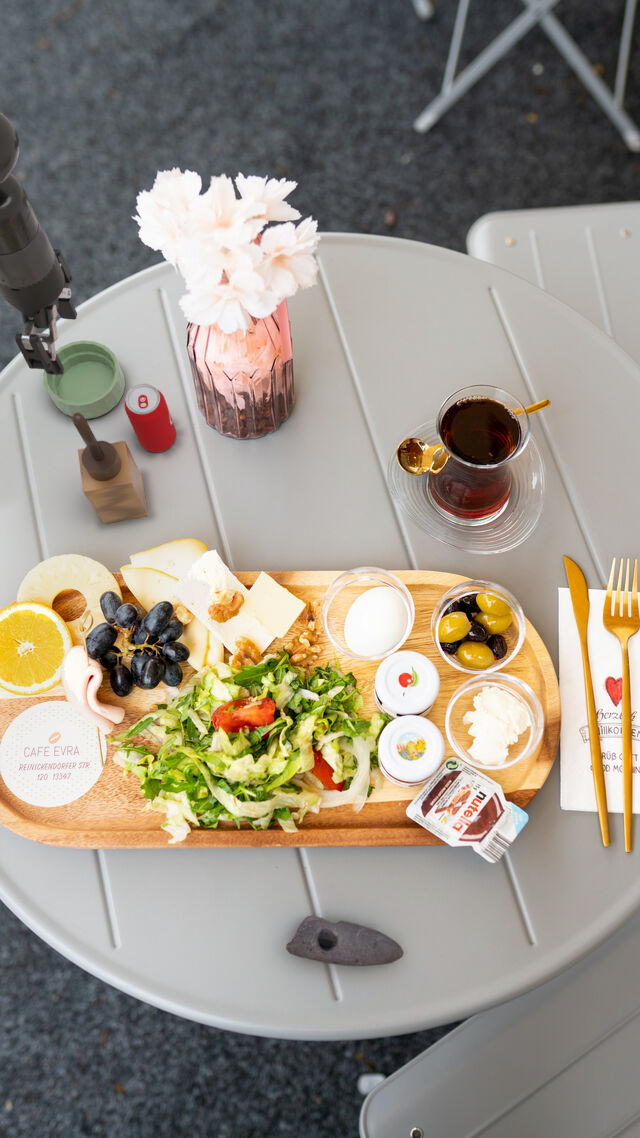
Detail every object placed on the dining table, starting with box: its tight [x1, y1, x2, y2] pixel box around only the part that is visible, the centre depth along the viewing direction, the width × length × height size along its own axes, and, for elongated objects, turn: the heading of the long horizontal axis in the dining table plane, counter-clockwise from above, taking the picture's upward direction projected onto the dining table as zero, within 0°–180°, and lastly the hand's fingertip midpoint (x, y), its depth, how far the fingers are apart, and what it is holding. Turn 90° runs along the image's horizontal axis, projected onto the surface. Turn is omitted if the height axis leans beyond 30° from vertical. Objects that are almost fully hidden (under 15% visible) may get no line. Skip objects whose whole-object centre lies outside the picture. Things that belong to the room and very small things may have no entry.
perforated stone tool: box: [285, 915, 405, 967], centre depth 105 cm, size 15×5×7 cm, turn 79°
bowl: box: [42, 340, 126, 420], centre depth 135 cm, size 12×12×5 cm
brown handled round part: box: [71, 413, 121, 481], centre depth 113 cm, size 5×5×14 cm
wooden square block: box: [77, 440, 149, 525], centre depth 125 cm, size 7×7×12 cm
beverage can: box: [124, 383, 177, 453], centre depth 129 cm, size 6×6×12 cm
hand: (63, 344), depth 108 cm, fingers open, 8 cm apart
